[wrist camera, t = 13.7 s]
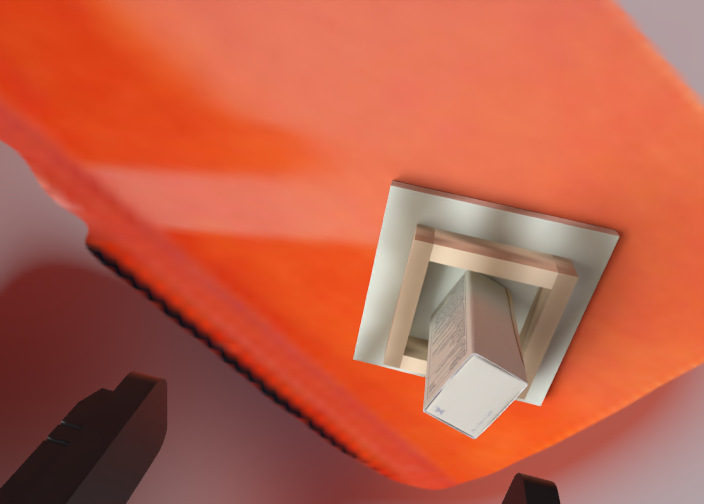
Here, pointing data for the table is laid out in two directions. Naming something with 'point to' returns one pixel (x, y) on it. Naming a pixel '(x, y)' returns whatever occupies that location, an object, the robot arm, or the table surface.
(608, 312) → the table surface
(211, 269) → the table surface
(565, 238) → the square collar plate
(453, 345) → the skincare box
